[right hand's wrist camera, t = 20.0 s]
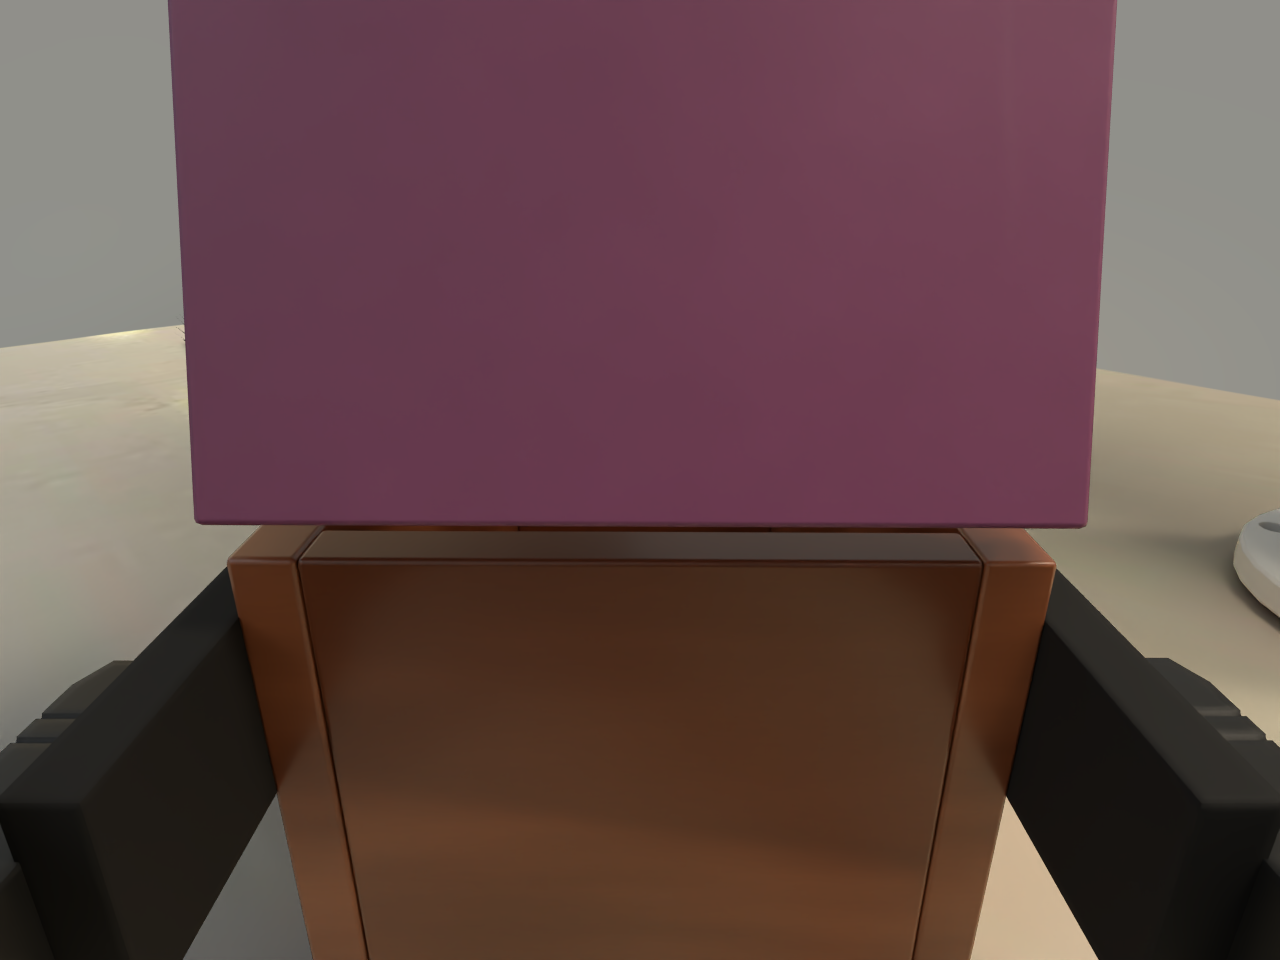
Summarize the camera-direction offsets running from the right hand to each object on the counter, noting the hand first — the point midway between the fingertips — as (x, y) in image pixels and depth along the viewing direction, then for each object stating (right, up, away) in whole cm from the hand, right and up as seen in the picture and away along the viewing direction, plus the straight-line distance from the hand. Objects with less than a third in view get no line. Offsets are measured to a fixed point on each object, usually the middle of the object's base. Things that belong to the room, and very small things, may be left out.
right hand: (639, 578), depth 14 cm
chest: (0, -4, +7) cm, 8 cm away
